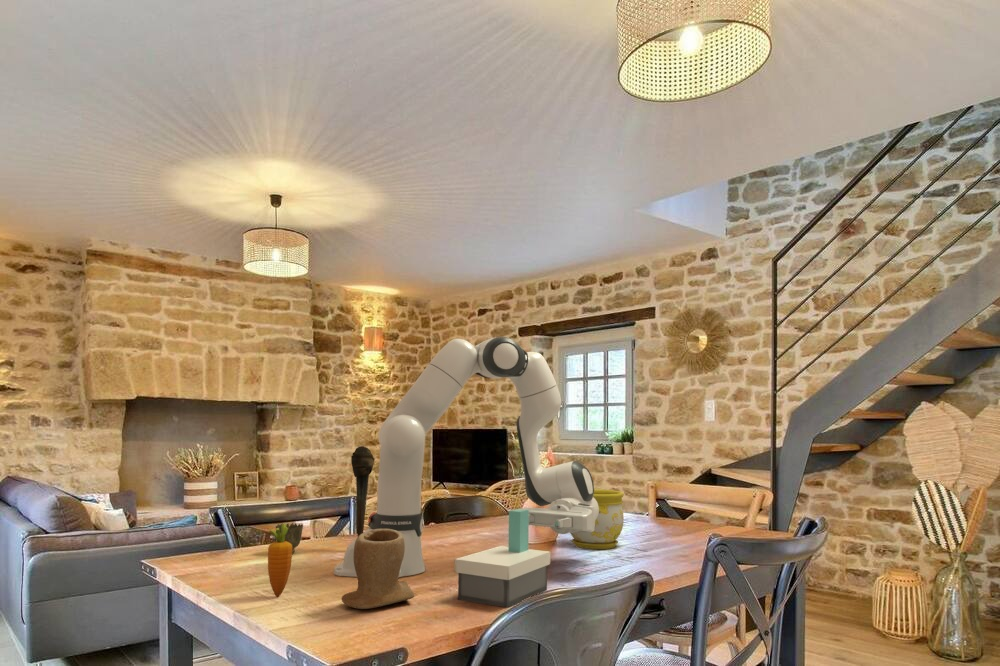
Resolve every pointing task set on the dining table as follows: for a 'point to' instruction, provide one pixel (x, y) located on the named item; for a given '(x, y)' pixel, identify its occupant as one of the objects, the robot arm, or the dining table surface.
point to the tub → (501, 588)
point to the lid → (506, 554)
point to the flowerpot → (603, 522)
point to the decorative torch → (361, 481)
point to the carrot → (279, 560)
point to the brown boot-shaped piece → (378, 570)
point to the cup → (292, 534)
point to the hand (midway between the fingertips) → (539, 522)
